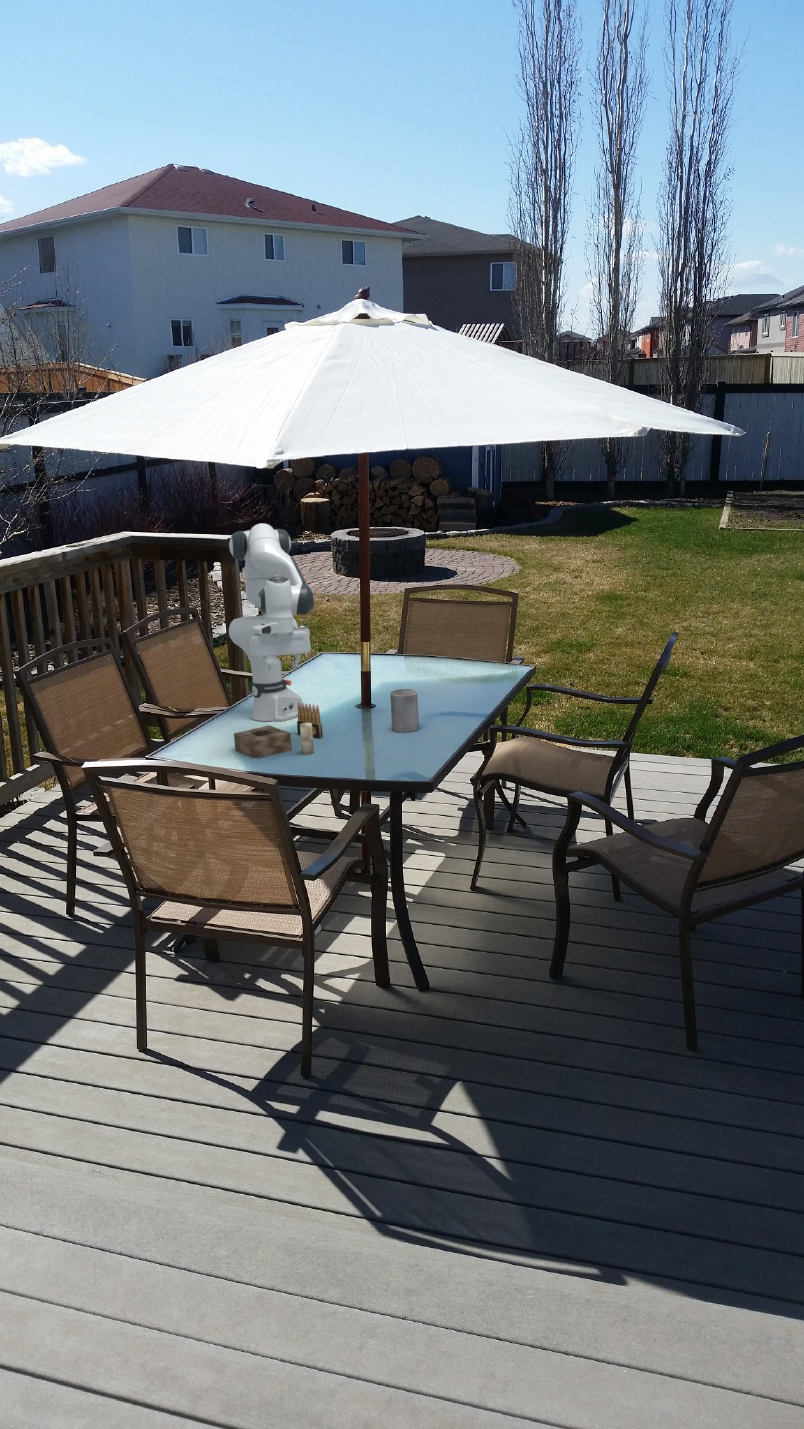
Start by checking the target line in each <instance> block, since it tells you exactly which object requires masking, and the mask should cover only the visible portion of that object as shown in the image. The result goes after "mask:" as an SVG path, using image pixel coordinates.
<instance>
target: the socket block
mask: <svg viewBox="0 0 804 1429" xmlns="http://www.w3.org/2000/svg"><path fill="white" fill-rule="evenodd" d="M291 736H292V734H291V732H288V731H286V730H283V729H281V728H277V727H274V726H272V725H269V724H268V725H265V726H261V727H256V728H251V729H247V730H243V731H239V732H235V733H233V738H234V739H233V740H234V741H233V742H234V748H235V749H234V750H235V751H236V752H238V751H239V753H241V754H243V753H244V755H246V756H248V755H249V757H250V758H253V759H255V758H257V759H260V758H259V757H261V758H263V757H262V756H265V755H269V756H271V755H270V754H273V755H276V754H275V753H277V754H280V753H285V752H289V751H292V750H293V749H292V738H291ZM265 757H266V756H265Z"/></svg>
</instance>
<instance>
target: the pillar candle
mask: <svg viewBox="0 0 804 1429" xmlns="http://www.w3.org/2000/svg"><path fill="white" fill-rule="evenodd" d="M418 702H419V701H418V691H417V690H415V689H412V688H402V689H395V690H392V691H390V711H391V712H390V713H391V729H392V731H393V732H395V733H400V734H401V733H402V734H404V733H405V734H406V733H412V732H416V731H418V730H419V729H420V725H419V724H420V722H419V720H420V718H419V703H418Z"/></svg>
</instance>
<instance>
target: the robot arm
mask: <svg viewBox="0 0 804 1429" xmlns="http://www.w3.org/2000/svg"><path fill="white" fill-rule="evenodd" d="M228 544H229V545H228V546H229V548H228V549H229V552H230V553H231V556H232V558H233V559H235V560H237V561H241V562H242V561H244V562H245V563H244V582H245V598H246V599H247V601H248V603H250V604H252V605H253V606H255V607H257V608H258V610H259V611H260V612H261V613H263V615H248V616H242V617H238V618H234V619H233V620H232V621H231V622H230V624H229V628H228V635H229V638H230V639H231V641H232V642H233V643H234V644H235V645H236V646H238V647H239V648H240V649H241V650H242V651H244V653H245V654H246V656H247V657H248V660H249V662H250V668H251V676H252V681H251V688H252V689H251V691H252V697H253V701H252V702H253V704H252V705H253V706H252V713H251V719H252V720H254V721H259V722H272V721H273V722H276V721H277V722H283V721H287V720H290V719H294V718H297V717H298V715H297V713H298V702H299V703H300V705H302V703H303V700H302V697H301V696H300V695H299V694H297V693H296V692H295V691H292V690H291V689H289V688H288V687H287V686H291V685H292V681H291V680H290V679H284V678H283V674H282V661H281V659H280V658H279V656H292V655H294V658H295V659H294V661H293V662H291V668H292V669H298V668H299V661H300V660H301V657H302V656H301V655H305V654H310V653H311V650H312V647H311V640H310V635H311V631H310V629H309V627H308V626H306V625H298V623H297V621H296V619H295V618H294V616H293V615H296V616H306V615H308V614H309V613H310V612H311V611H312V610H313V609H314V606H315V596H314V592H313V591H312V589H311V587H310V585H309V584H308V583H307V582H306V579H305V577H304V575H303V573H302V571H301V569H300V567H299V565H298V564H297V562H296V560H295V559H294V557H293V556H291V555H290V552H291V548H292V540H291V537H290V534H289V533H288V532H287V530H285V529H281V528H277V529H274V528H273V526H271V525H270V524H268V523H261V522H260V523H258V524H255V525H253V526H252V527H251V529H249V530H245V531H242V530H240V531H239V530H238V531H236V532H234V533H233V534H231V535H230V539H229V543H228ZM276 575H277V576H276ZM303 704H304V703H303ZM304 708H305V706H304ZM308 712H309V711H308ZM296 716H297V717H296Z"/></svg>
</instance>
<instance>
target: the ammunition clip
mask: <svg viewBox="0 0 804 1429" xmlns="http://www.w3.org/2000/svg"><path fill="white" fill-rule="evenodd" d="M304 707H305V708H304ZM308 711H309V712H308ZM320 714H321V713H320V708H319V705H318V704H316V707H315V704H312V705H311V703H309V704H308V703H307V702H305V704H304V703H302V705H300V703H299V702H298V713H297V715H298V716H297V721H296V726H297V735H298V736H301V733H300V724H302V723H312V733H313V739H319V740H320V739H322V738H324V734H323V723H321V721H322V720H321V715H320Z"/></svg>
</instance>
